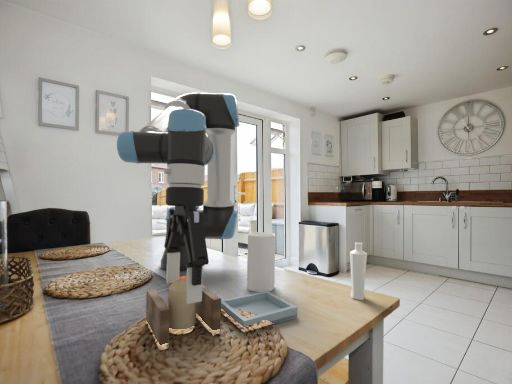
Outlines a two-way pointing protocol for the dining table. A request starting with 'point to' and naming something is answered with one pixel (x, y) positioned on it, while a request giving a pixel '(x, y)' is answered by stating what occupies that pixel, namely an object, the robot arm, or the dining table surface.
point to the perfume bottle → (358, 271)
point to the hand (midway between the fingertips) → (182, 291)
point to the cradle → (161, 313)
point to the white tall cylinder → (261, 261)
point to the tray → (259, 308)
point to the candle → (180, 306)
